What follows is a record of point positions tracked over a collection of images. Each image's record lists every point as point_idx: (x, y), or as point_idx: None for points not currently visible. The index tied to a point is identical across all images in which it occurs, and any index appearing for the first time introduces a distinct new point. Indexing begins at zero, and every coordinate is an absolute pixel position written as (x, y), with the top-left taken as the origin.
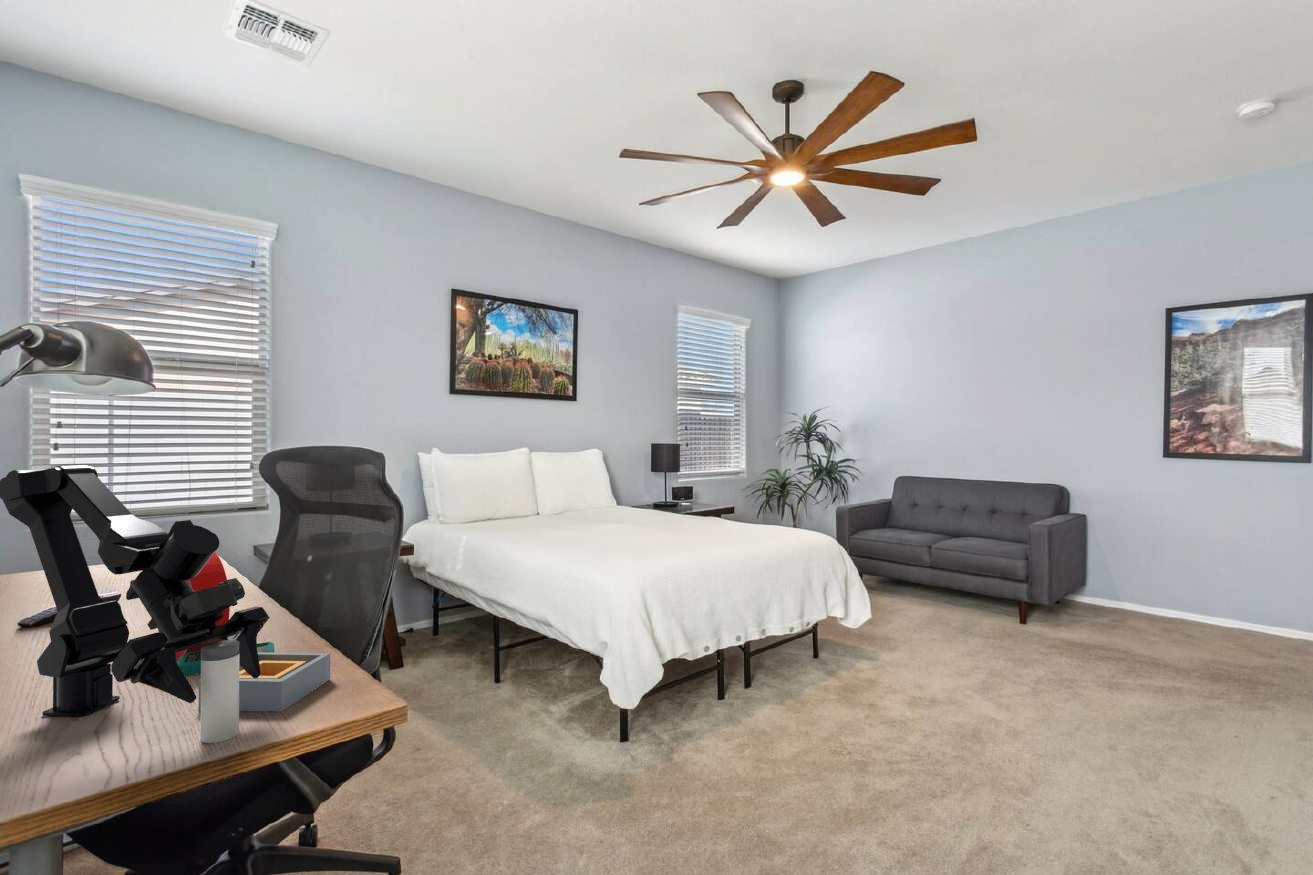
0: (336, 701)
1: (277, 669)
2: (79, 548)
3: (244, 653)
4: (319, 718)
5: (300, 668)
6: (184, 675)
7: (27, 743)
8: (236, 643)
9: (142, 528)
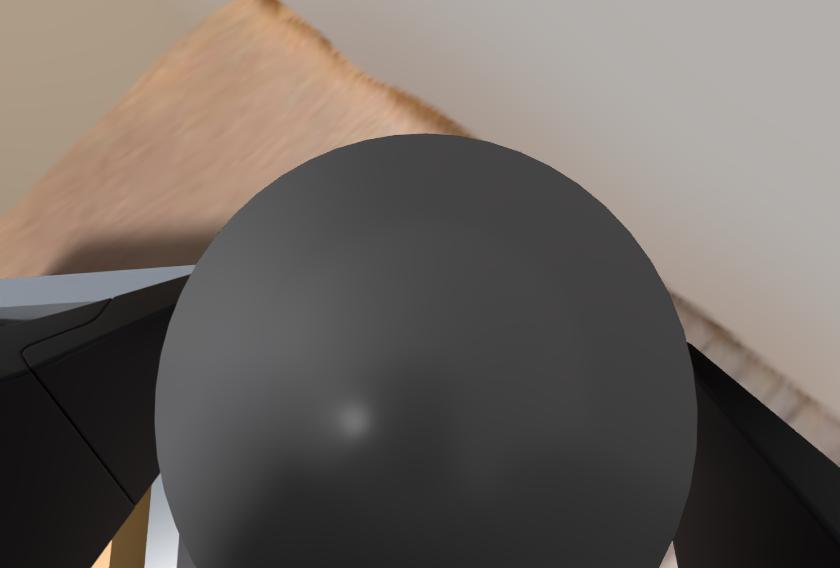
0: (194, 171)
1: None
2: None
3: (136, 390)
4: (315, 140)
5: (47, 291)
6: (780, 475)
7: None
8: (322, 183)
9: None
